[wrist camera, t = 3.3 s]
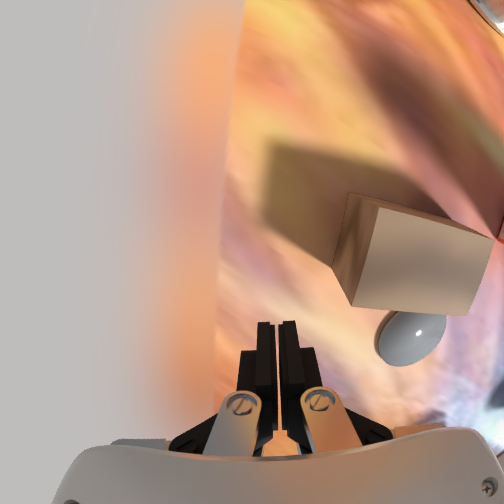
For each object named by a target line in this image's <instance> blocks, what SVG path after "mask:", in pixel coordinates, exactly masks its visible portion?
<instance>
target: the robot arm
mask: <svg viewBox="0 0 504 504" xmlns="http://www.w3.org/2000/svg"><path fill="white" fill-rule="evenodd" d="M470 2H471V3H472V4H473V6H474V7H475V8H476V10H477V11H478V12H479V13H480V14H481V16H482V17H483V18H484V19H485V20H486V21H487V22H488V23H489V24H490V25H491V26H492V27H493V28H494V29H495V30H496V31H497V32H498V33H500V34H501V35H502V36H504V0H470ZM278 332H279V377H280V396H281V416H282V430H287V436H289V438H291V439H292V440H294V441H295V442H297V449H298V452H299V455H291V456H272V457H263V453H264V448H265V444H266V443H267V442H268V441H270V440H271V439H272V438H273V430H278V383H277V361H276V342H275V325H270V322H258V328H257V350H251V351H241V357H240V365H239V374H238V382H237V391H236V392H233V393H231V394H229V395H228V396H226V397H225V398H224V400H223V402H222V404H221V407H220V410H219V412H218V413H217V414H216V415H214V416H212V417H211V418H209V419H207V420H206V421H204V422H202V423H201V424H199V425H197V426H195V427H194V428H192V429H190V430H188V431H186V432H185V433H183V434H181V435H179V436H177V437H176V438H175V439H173V440H172V441H166V439H119V440H116V441H114V442H112V443H111V444H110V445H104V446H96V447H92V448H89V449H86V450H84V451H83V452H82V453H81V454H79V455H78V456H77V457H76V459H75V460H74V461H73V463H72V464H71V466H70V467H69V469H68V471H67V472H66V474H65V476H64V478H63V480H62V482H61V484H60V486H59V488H58V490H57V492H56V495H55V497H54V500H53V502H52V504H504V471H503V469H502V467H501V465H500V463H499V461H498V459H497V457H496V455H495V453H494V452H493V450H492V448H491V447H490V445H489V444H488V443H487V441H486V440H485V438H484V437H483V436H482V435H481V434H480V433H479V432H477V431H476V430H474V429H471V428H467V427H446V426H445V425H443V424H440V423H434V424H425V425H415V426H402V427H395V428H394V429H390V430H389V429H388V428H387V427H385V426H383V425H381V424H379V423H376V422H374V421H372V420H370V419H368V418H365V417H363V416H361V415H359V414H357V413H355V412H353V411H351V410H349V409H347V408H345V407H344V406H343V404H342V402H341V400H340V398H339V396H338V395H337V393H336V392H335V391H333V390H332V389H330V388H327V387H323V385H322V381H321V376H320V372H319V368H318V363H317V359H316V355H315V350H314V348H313V347H309V348H300V346H299V340H298V335H297V329H296V323H295V320H294V321H283V324H279V325H278Z"/></svg>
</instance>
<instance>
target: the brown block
mask: <svg viewBox="0 0 504 504" xmlns="http://www.w3.org/2000/svg"><path fill="white" fill-rule="evenodd" d="M493 244H494V240H493V239H491V238H489V237H487V236H485V235H483V234H481V233H479V232H477V231H475V230H473V229H471V228H469V227H466V226H464V225H462V224H460V223H458V222H456V221H453V220H451V219H448V218H444V217H441V216H438V215H435V214H431V213H428V212H424V211H421V210H417V209H414V208H410V207H406V206H403V205H399V204H395V203H391V202H387V201H383V200H379V199H375V198H371V197H367V196H363V195H358V194H354V193H349V194H348V199H347V204H346V209H345V214H344V218H343V223H342V227H341V232H340V236H339V240H338V244H337V248H336V252H335V256H334V260H333V264H332V270H333V272H334V274H335V276H336V278H337V280H338V281H339V283H340V285H341V287H342V289H343V291H344V293H345V295H346V297H347V299H348V301H349V303H350V305H351V306H352V307H362V308H371V309H381V310H392V311H403V312H415V313H428V314H442V315H458V316H467V314H468V312H469V310H470V307H471V305H472V303H473V300H474V298H475V295H476V293H477V291H478V288H479V285H480V283H481V280H482V277H483V275H484V272H485V269H486V266H487V263H488V260H489V257H490V254H491V251H492V247H493Z"/></svg>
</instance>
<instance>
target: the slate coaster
mask: <svg viewBox="0 0 504 504" xmlns="http://www.w3.org/2000/svg"><path fill="white" fill-rule="evenodd" d="M445 328H446V315H442V314H428V313H415V312H403V311H397V312H396V313H395V314H394V315H393V316H392V317H391V318H390V319H389V320H388V322H387V323H386V325H385V326H384V328H383V330H382V332H381V334H380V337H379V342H378V348H379V352H380V355H381V357H382V359H383V360H384V361H385V362H386V363H387V364H389V365H392V366H398V367H399V366H407V365H411V364H413V363H416V362H418V361H420V360H421V359H423V358H424V357H426V356H427V355H428V354H429V353H430V352H431V351H432V350H433V349H434V348H435V347H436V346H437V345H438V343H439V342H440V340H441V338H442V336H443V334H444V331H445Z"/></svg>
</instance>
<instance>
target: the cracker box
mask: <svg viewBox="0 0 504 504" xmlns="http://www.w3.org/2000/svg"><path fill="white" fill-rule="evenodd" d="M497 240H498V241H499V242H501V243H502V244H504V220H503V223H502V226H501V229H500V232H499V235H498V238H497Z"/></svg>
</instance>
